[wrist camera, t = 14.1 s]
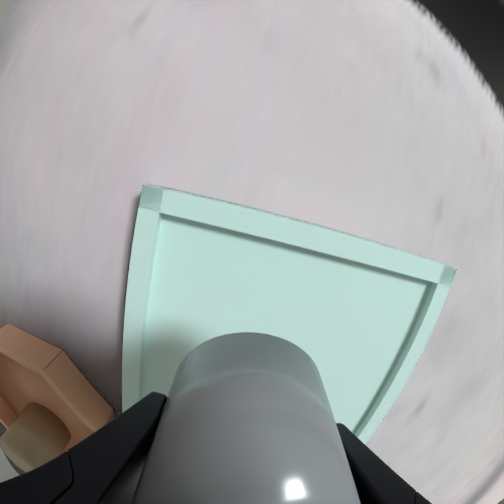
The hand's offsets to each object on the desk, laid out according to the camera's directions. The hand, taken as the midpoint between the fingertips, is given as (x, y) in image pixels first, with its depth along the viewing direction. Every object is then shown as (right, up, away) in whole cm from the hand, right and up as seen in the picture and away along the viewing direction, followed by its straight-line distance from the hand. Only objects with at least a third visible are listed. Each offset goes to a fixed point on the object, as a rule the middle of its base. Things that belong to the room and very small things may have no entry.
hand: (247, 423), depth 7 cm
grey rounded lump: (0, 0, +1) cm, 1 cm away
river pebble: (-17, -9, +9) cm, 21 cm away
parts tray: (+1, -2, +8) cm, 9 cm away
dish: (-16, -7, +9) cm, 20 cm away
